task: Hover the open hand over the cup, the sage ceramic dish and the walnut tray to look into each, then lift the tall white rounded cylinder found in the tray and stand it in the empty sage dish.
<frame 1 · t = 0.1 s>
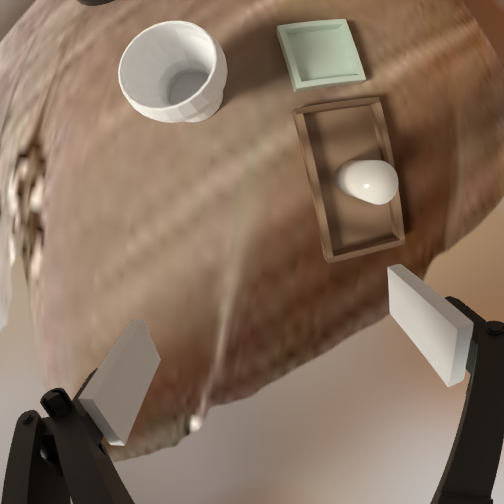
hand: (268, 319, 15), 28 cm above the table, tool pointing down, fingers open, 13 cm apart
white rounded cylinder: (351, 177, 40), resting on tray
cup: (195, 96, 37), on the table
dish: (318, 56, 35), on the table
tray: (350, 177, 40), on the table
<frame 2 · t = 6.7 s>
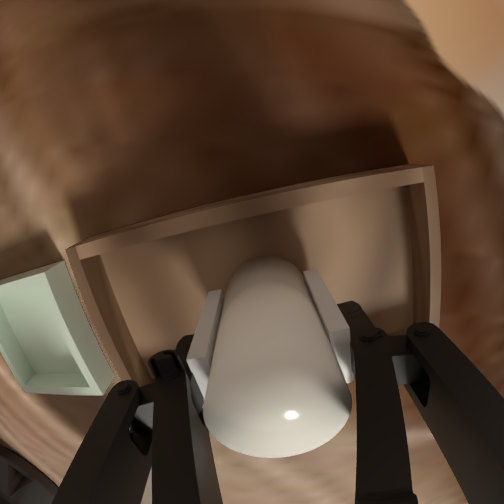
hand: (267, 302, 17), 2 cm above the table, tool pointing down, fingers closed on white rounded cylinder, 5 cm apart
white rounded cylinder: (266, 293, 18), point 1 cm above the table, touching gripper
dish: (45, 328, 20), on the table
tray: (265, 290, 19), on the table
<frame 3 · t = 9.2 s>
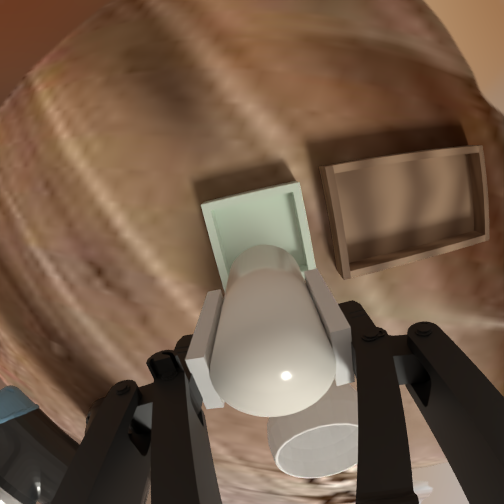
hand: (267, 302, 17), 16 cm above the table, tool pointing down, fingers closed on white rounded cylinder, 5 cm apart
white rounded cylinder: (264, 279, 20), point 13 cm above the table, touching gripper
cup: (305, 363, 38), on the table
dish: (260, 235, 33), on the table
tray: (411, 203, 32), on the table
when the fingers open (4 cm above the table, at t = 11.8 s): white rounded cylinder stays where it is, resting on dish.
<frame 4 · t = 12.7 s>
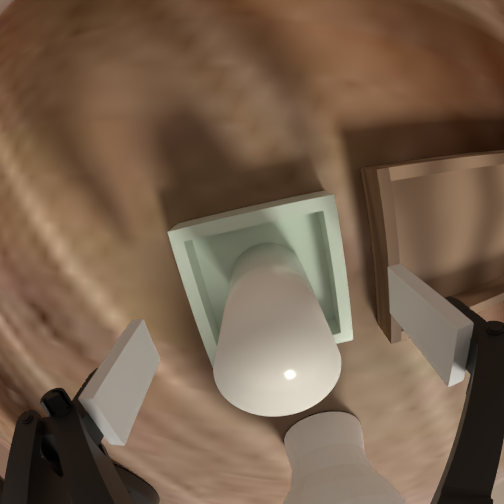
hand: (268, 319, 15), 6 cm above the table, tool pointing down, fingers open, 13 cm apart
white rounded cylinder: (267, 278, 20), resting on dish
cup: (322, 434, 26), on the table
dish: (266, 276, 21), on the table
tray: (480, 225, 20), on the table
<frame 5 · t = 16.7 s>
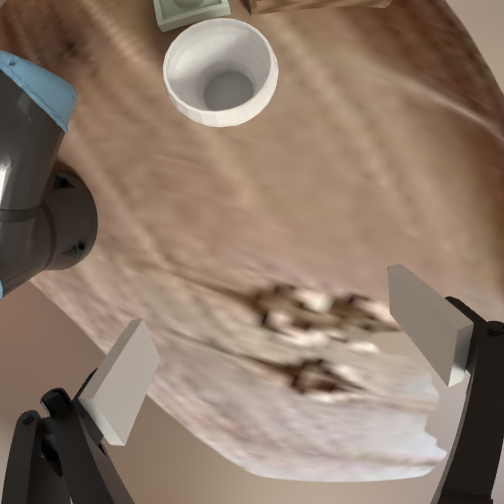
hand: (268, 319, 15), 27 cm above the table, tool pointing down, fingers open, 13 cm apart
cup: (230, 98, 37), on the table
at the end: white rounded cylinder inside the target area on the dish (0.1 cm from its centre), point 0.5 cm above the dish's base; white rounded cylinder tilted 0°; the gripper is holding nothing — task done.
